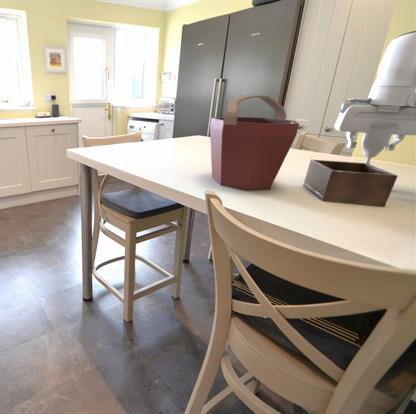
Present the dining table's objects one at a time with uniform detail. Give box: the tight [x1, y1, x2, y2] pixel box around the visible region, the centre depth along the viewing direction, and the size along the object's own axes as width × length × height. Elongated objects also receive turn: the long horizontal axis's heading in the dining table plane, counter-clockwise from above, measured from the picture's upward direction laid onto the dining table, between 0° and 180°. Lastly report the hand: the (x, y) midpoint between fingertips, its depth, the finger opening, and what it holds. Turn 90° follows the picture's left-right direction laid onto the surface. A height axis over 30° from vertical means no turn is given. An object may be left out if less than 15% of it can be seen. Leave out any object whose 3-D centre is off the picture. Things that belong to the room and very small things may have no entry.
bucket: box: [209, 95, 300, 192], centre depth 84 cm, size 24×22×25 cm
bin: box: [303, 159, 398, 207], centre depth 76 cm, size 14×14×8 cm
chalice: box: [361, 125, 397, 165], centre depth 83 cm, size 7×7×18 cm
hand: (369, 149), depth 83 cm, fingers open, 8 cm apart
